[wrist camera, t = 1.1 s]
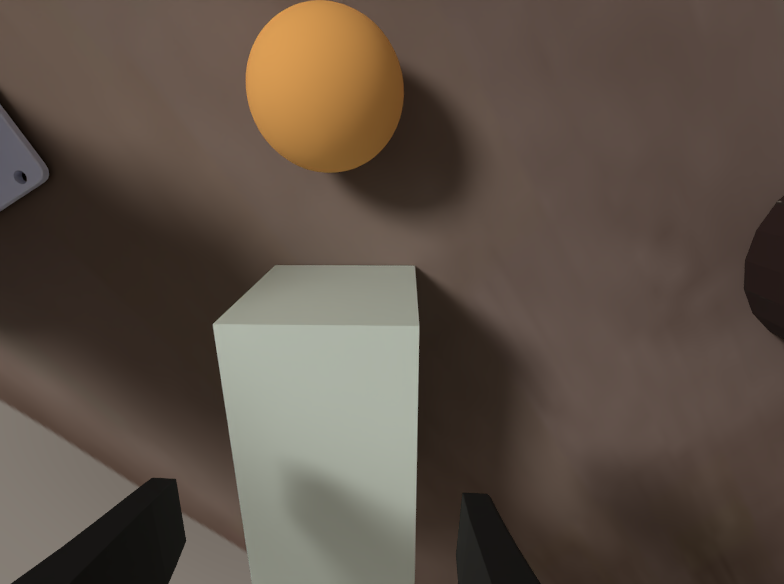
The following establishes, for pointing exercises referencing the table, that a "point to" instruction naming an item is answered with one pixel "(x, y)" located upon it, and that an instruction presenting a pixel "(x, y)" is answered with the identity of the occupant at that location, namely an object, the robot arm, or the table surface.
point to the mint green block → (325, 422)
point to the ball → (324, 86)
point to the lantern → (767, 271)
